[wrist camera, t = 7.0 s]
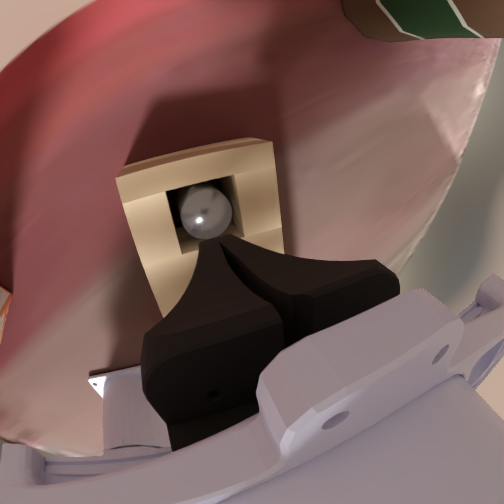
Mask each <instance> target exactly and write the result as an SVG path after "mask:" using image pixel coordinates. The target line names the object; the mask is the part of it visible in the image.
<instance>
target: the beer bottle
mask: <svg viewBox="0 0 504 504" xmlns="http://www.w3.org/2000/svg"><path fill="white" fill-rule="evenodd" d="M341 1H342V5H343V10H344V15H345V16H346V17H347V18H348V19H349V20H350V21H351V22H352V23H353V24H354V25H355V26H356V27H357V28H358V29H359V30H360V31H361V33H362V34H363V35H364V36H366V37H369V38H374V39H378V40H383V41H387V42H400V41H411V40H421V39H435V38H504V0H341Z"/></svg>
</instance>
